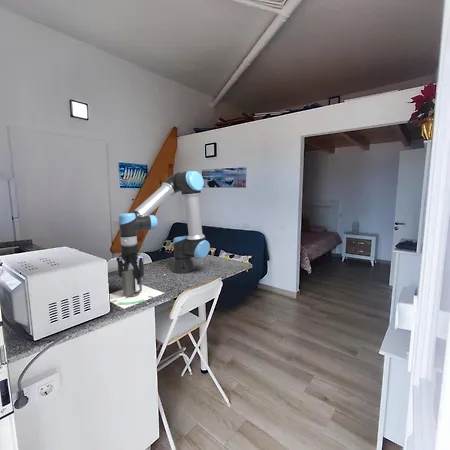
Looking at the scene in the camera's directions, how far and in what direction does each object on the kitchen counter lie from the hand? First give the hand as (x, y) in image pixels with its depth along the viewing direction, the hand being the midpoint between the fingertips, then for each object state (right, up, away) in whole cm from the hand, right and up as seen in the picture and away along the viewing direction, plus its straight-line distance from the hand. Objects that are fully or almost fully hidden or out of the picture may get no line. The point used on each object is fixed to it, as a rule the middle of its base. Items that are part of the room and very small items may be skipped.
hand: (132, 290), depth 127 cm
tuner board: (0, -4, 0) cm, 4 cm away
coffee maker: (-13, 0, +34) cm, 37 cm away
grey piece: (-1, -2, -2) cm, 3 cm away
